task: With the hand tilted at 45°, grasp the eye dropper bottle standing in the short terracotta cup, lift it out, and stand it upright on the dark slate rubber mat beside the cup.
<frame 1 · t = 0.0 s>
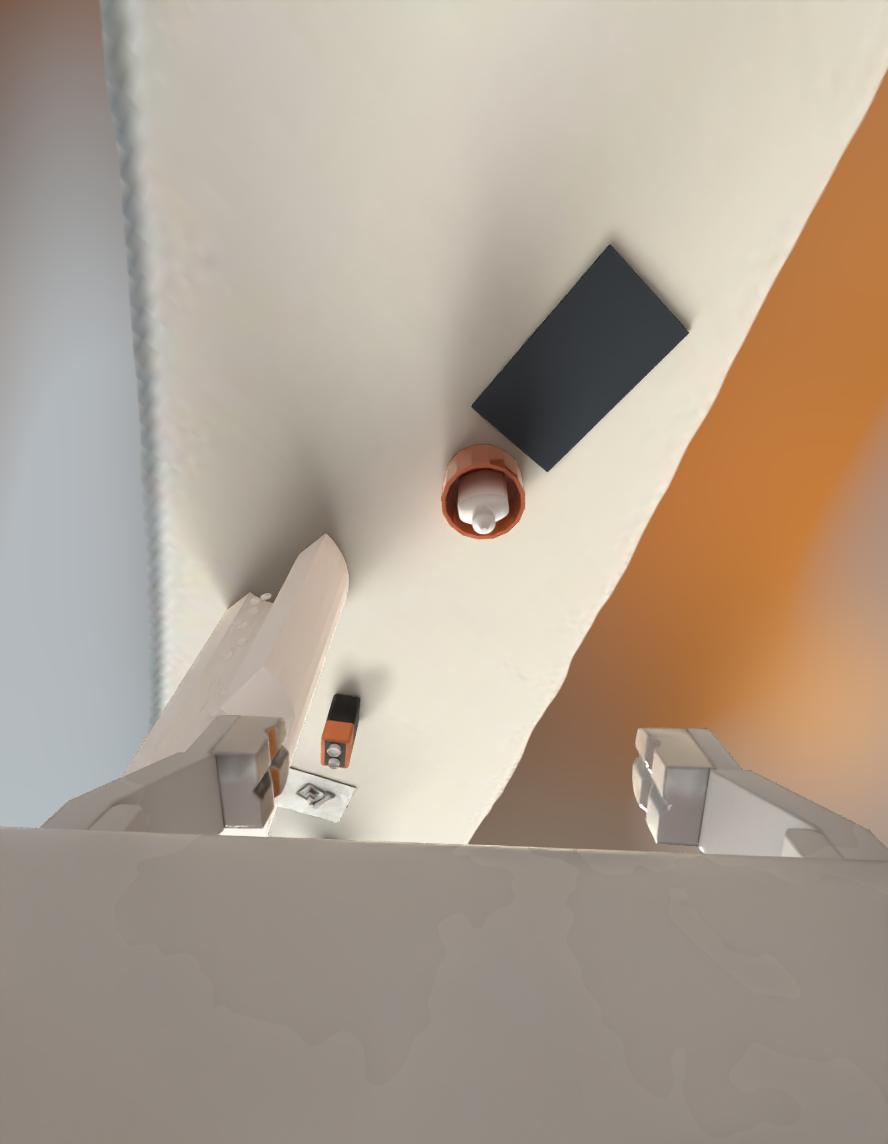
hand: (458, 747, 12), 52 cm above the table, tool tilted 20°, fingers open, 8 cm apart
eye dropper bottle: (482, 481, 64), resting on cup
battery: (346, 707, 88), on the table
white curved half cylinder: (300, 594, 76), on the table
cup: (482, 481, 65), on the table
mat: (574, 370, 57), on the table
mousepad: (335, 794, 102), on the table
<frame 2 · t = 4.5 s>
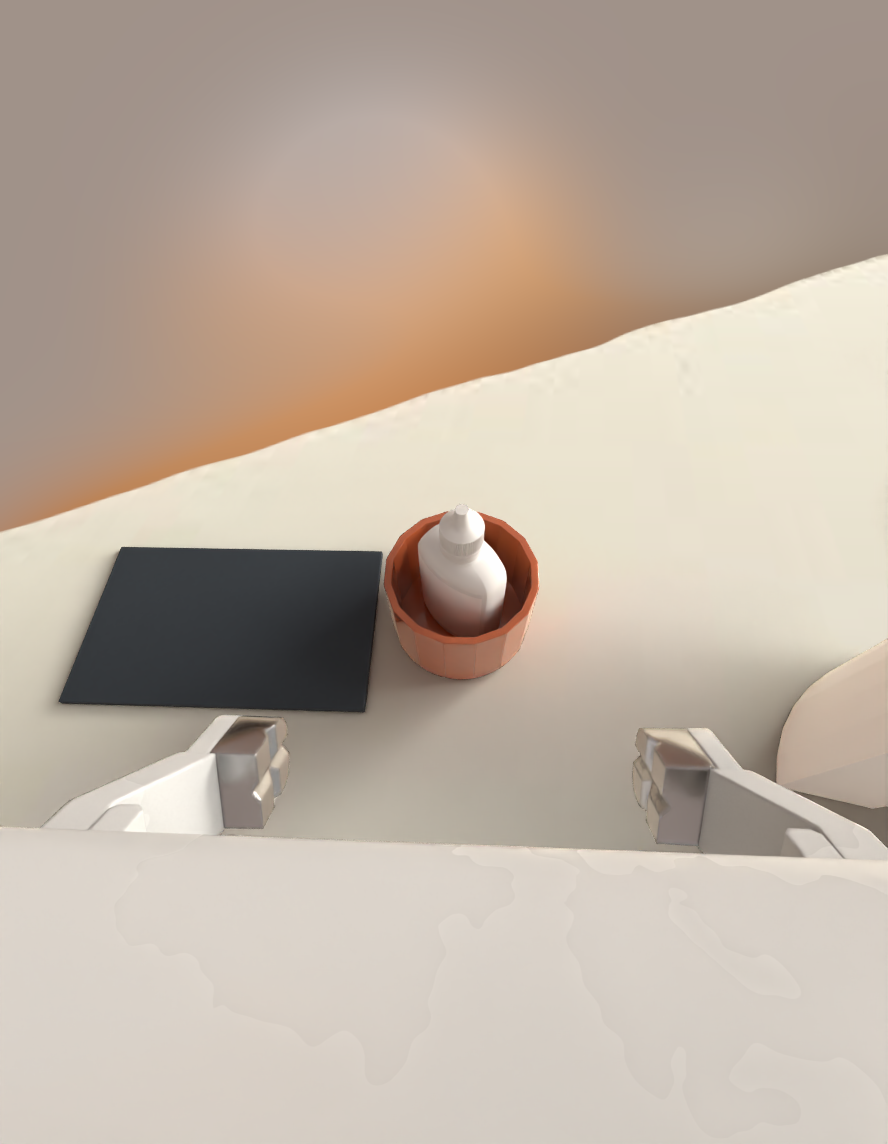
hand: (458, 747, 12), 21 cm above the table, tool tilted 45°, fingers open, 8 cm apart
eye dropper bottle: (460, 615, 37), resting on cup
cup: (460, 615, 37), on the table
mat: (233, 623, 37), on the table
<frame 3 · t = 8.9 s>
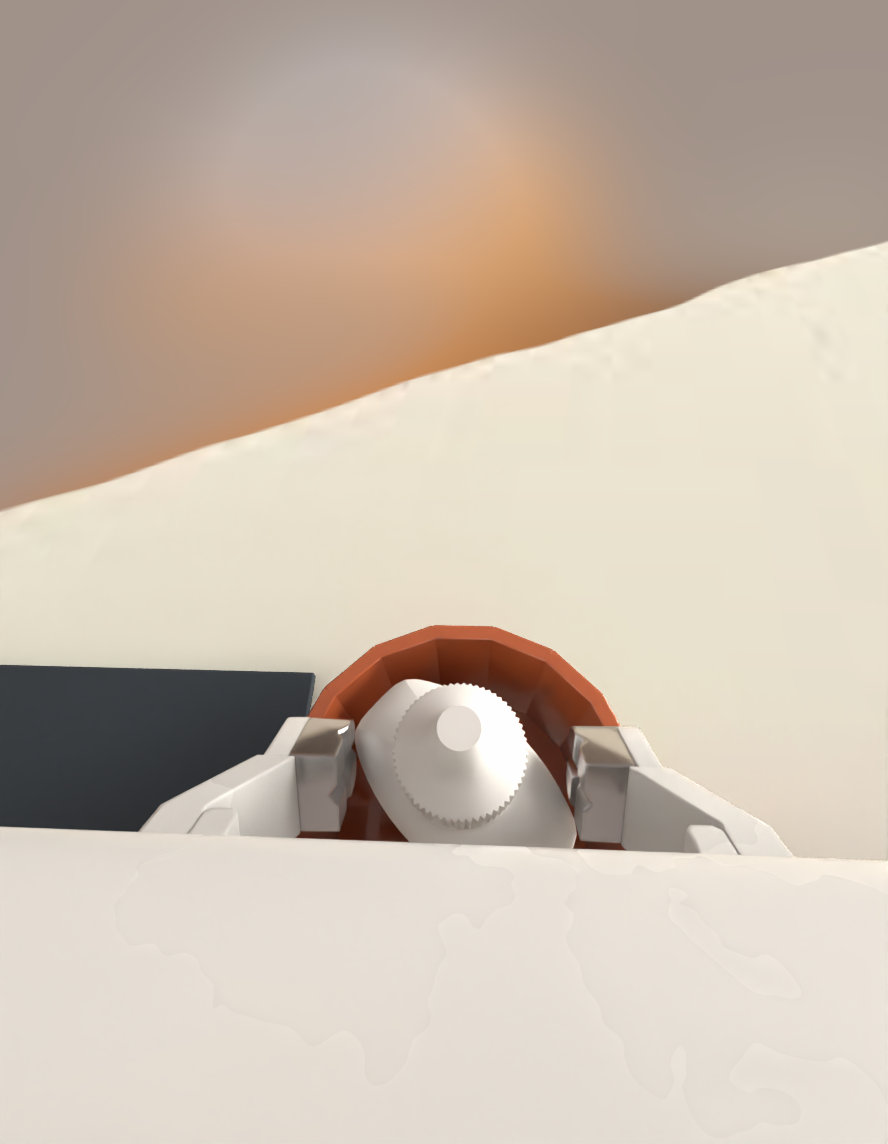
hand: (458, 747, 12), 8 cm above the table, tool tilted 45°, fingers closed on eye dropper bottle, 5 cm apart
eye dropper bottle: (461, 815, 19), resting on cup, touching gripper
cup: (461, 816, 19), on the table
mat: (13, 829, 19), on the table
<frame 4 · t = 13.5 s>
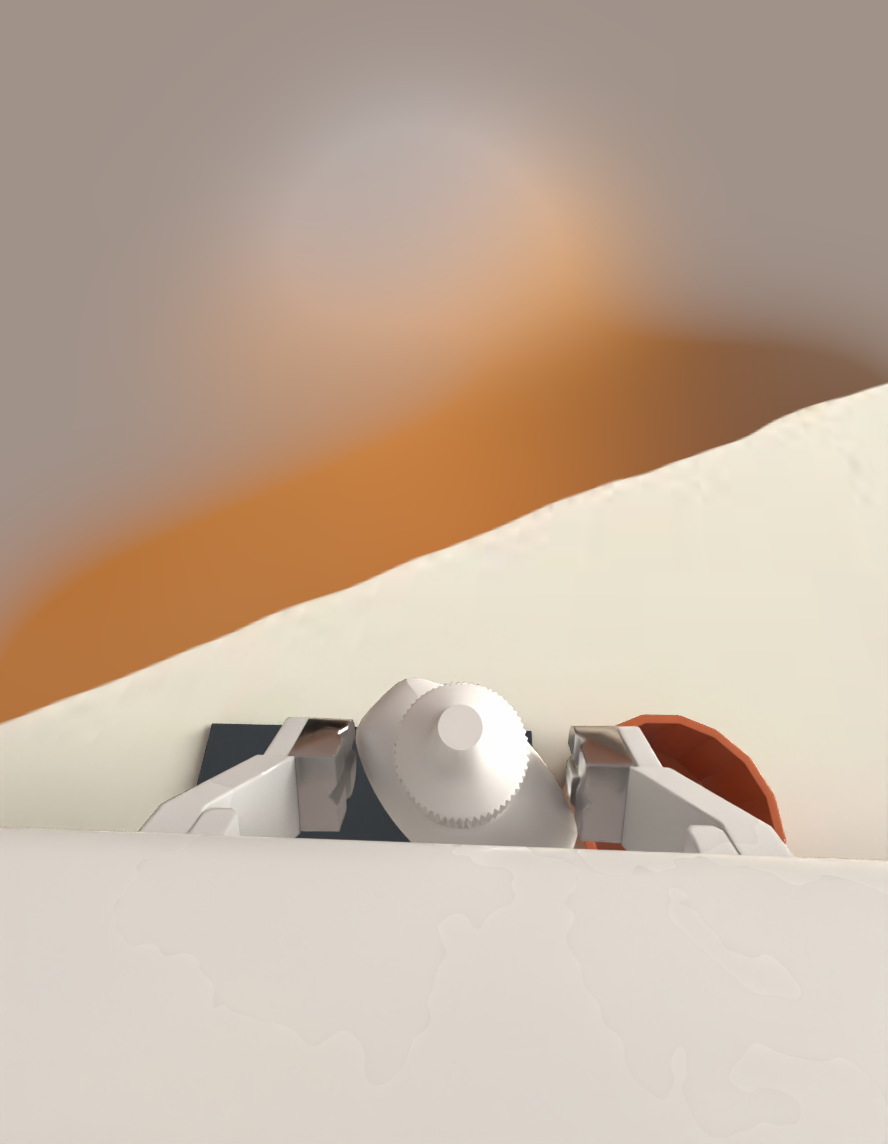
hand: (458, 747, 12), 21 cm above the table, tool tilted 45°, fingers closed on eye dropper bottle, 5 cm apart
eye dropper bottle: (461, 815, 19), point 13 cm above the table, touching gripper
cup: (641, 824, 30), on the table
mat: (359, 835, 30), on the table
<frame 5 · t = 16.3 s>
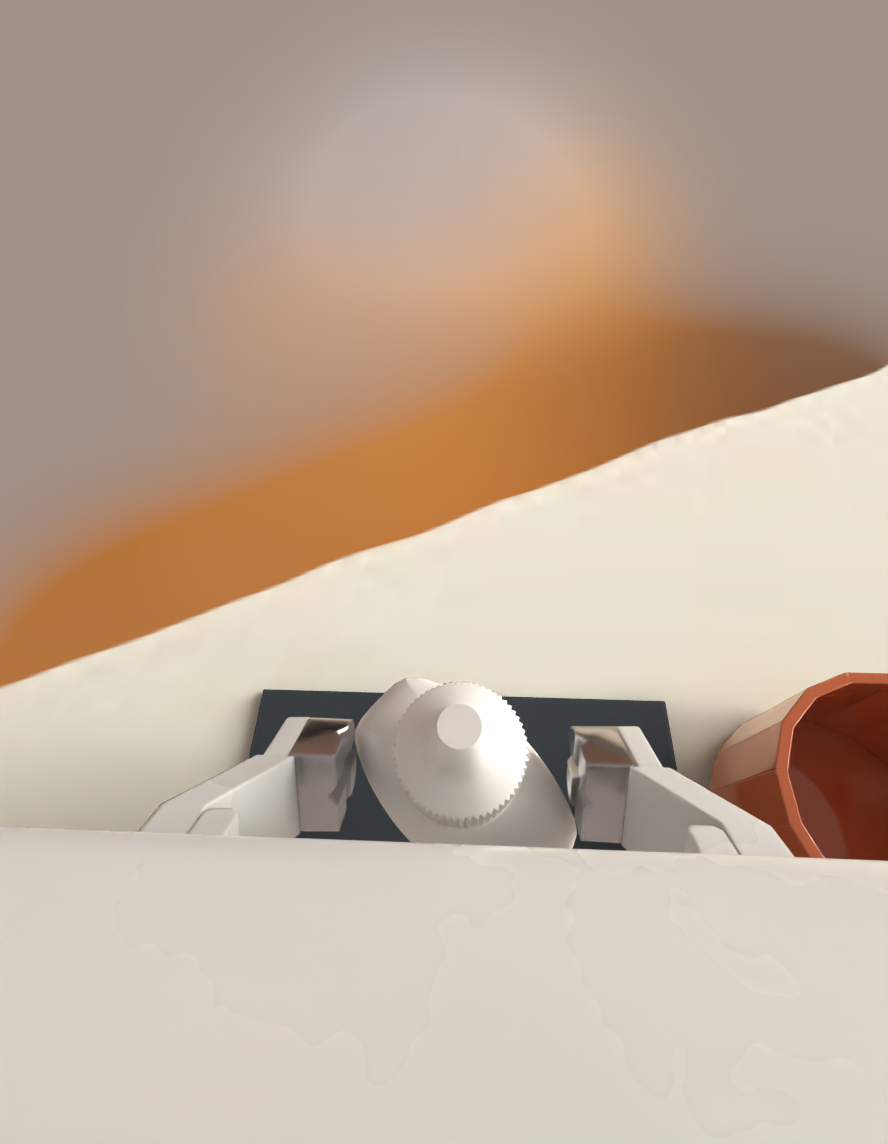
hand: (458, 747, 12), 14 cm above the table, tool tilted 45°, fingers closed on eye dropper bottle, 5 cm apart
eye dropper bottle: (461, 814, 19), point 6 cm above the table, touching gripper
cup: (818, 818, 24), on the table
mat: (458, 829, 24), on the table
when the fingers open (8 cm above the table, at t = 18.3 s): eye dropper bottle stays where it is, resting on mat.
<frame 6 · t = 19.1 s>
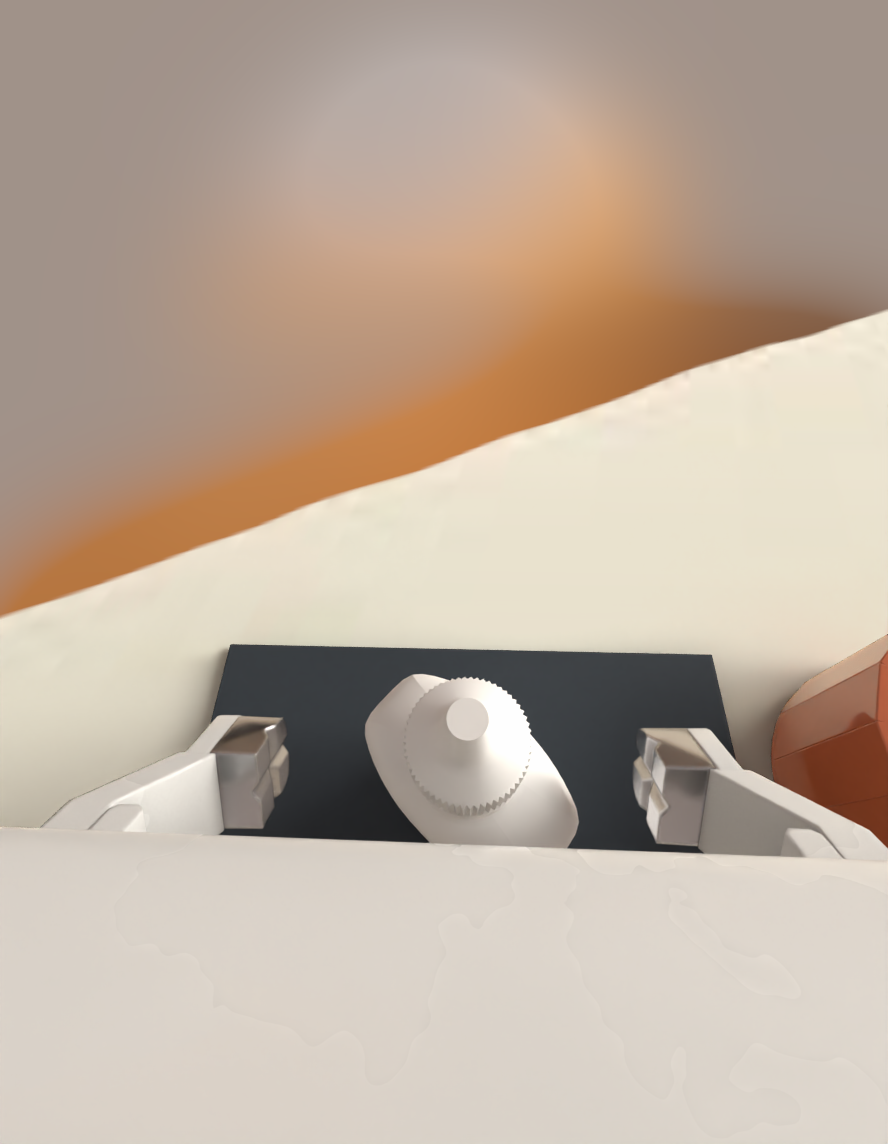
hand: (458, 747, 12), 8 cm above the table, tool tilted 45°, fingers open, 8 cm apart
eye dropper bottle: (466, 807, 19), resting on mat
mat: (463, 807, 19), on the table
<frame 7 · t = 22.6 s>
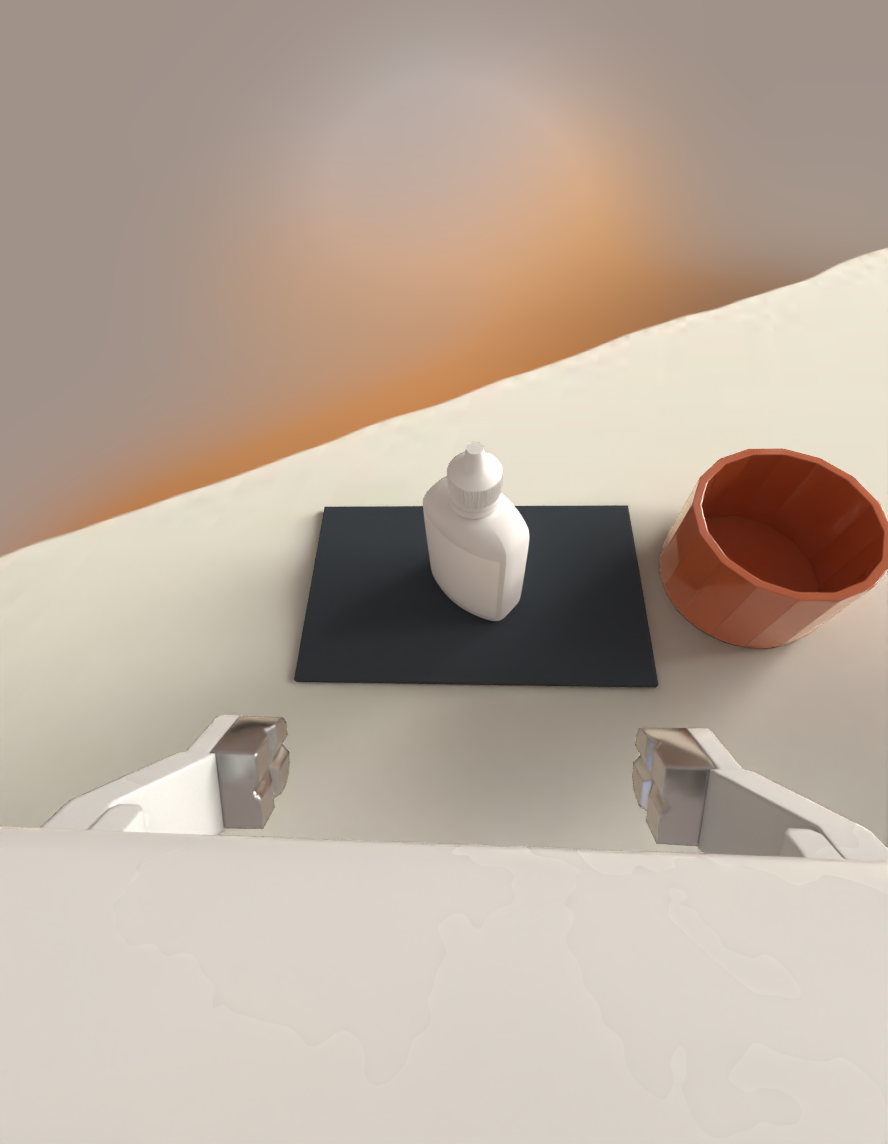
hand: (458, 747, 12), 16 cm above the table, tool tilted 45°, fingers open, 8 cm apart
eye dropper bottle: (474, 587, 32), resting on mat
cup: (739, 575, 32), on the table
mat: (473, 589, 32), on the table
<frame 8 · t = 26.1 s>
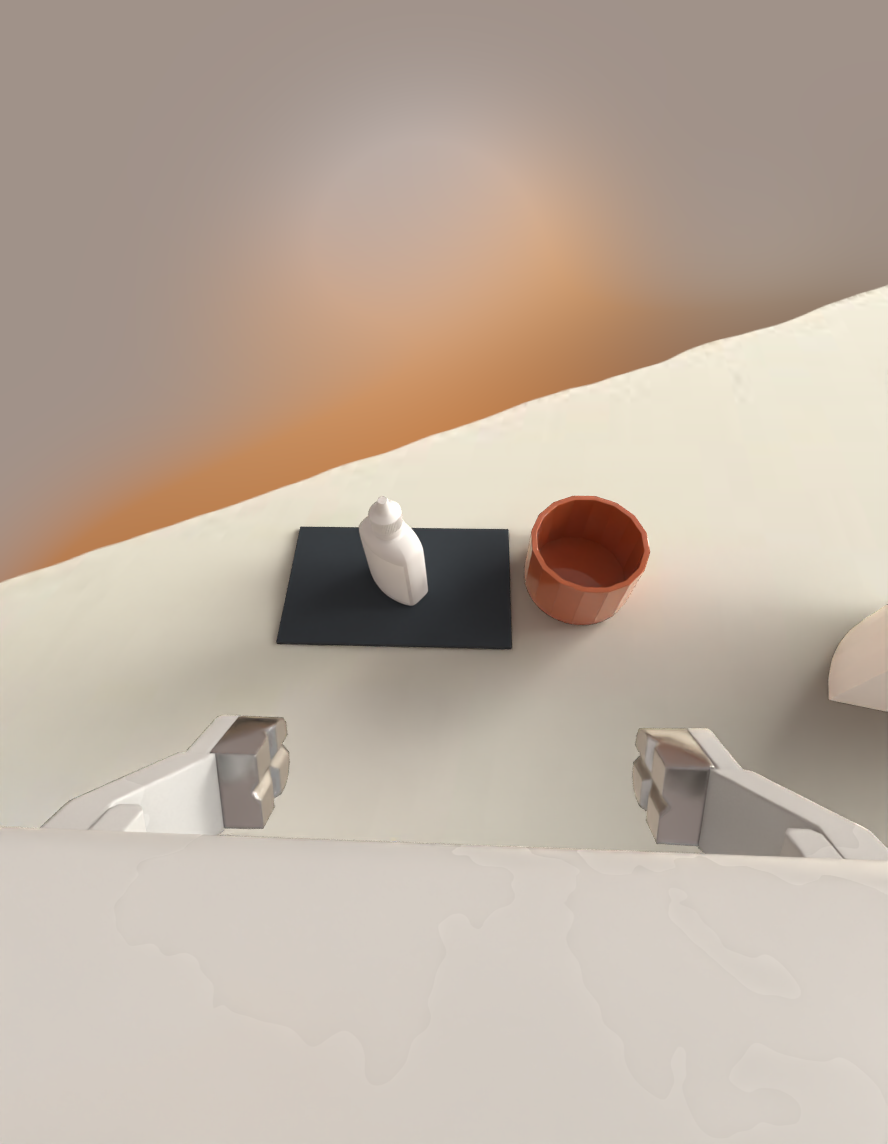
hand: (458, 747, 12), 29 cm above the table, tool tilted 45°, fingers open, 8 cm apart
eye dropper bottle: (399, 583, 48), resting on mat
cup: (576, 578, 48), on the table
mat: (398, 584, 48), on the table
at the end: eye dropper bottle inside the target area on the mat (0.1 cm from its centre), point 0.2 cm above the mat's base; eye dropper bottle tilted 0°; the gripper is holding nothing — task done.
